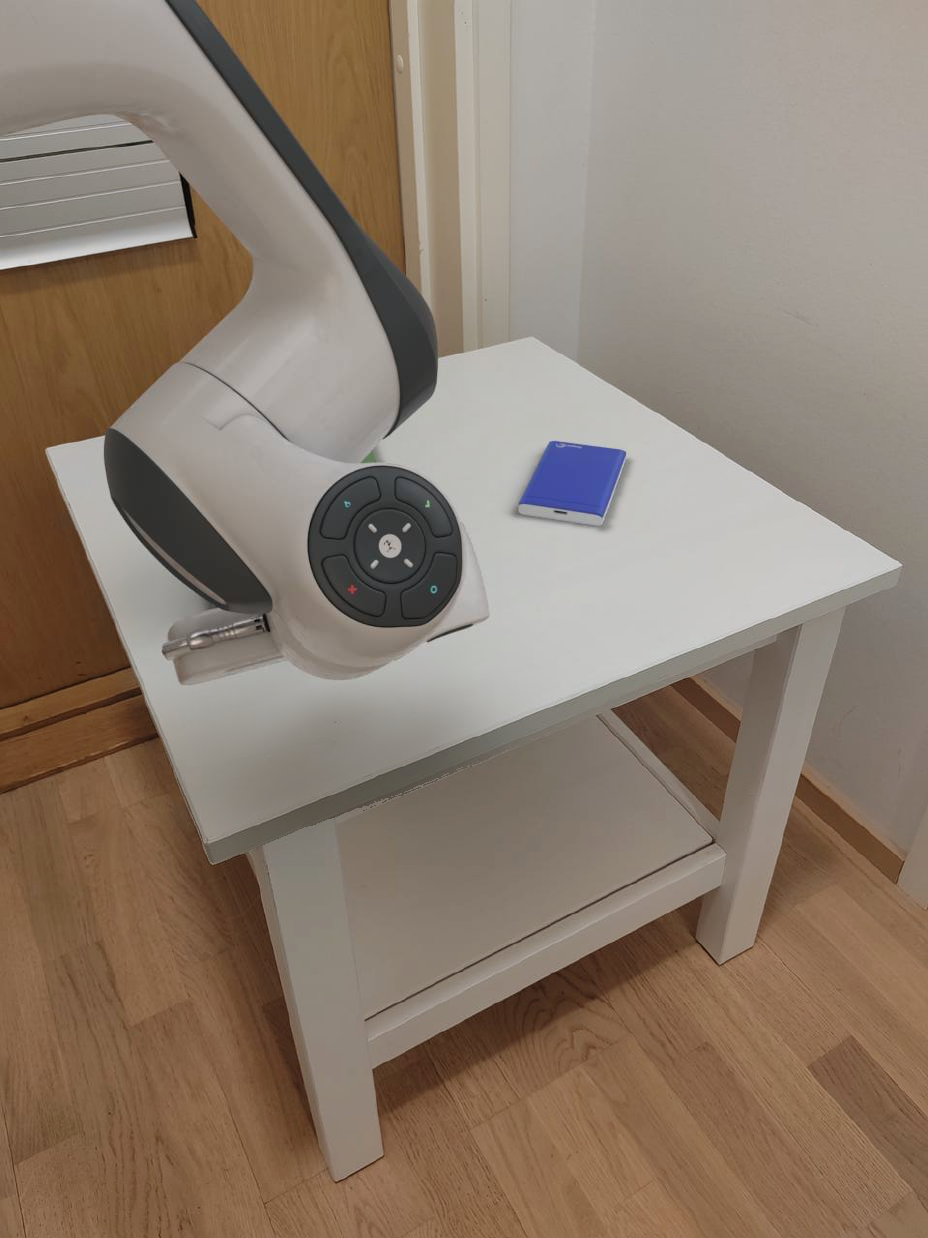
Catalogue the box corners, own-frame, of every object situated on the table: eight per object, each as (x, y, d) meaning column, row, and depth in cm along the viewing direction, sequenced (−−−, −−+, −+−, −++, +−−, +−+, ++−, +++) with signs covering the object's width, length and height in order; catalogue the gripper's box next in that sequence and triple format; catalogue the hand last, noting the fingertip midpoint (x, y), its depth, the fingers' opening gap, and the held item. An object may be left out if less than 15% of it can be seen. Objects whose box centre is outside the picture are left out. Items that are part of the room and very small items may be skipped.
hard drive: (549, 439, 100) (518, 500, 91) (626, 449, 98) (603, 513, 89) (548, 452, 101) (518, 514, 92) (625, 462, 99) (602, 527, 90)
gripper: (174, 703, 52) (182, 713, 66) (515, 612, 58) (459, 638, 71) (145, 593, 53) (159, 625, 66) (486, 513, 58) (436, 558, 72)
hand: (317, 631), depth 69 cm, fingers closed
